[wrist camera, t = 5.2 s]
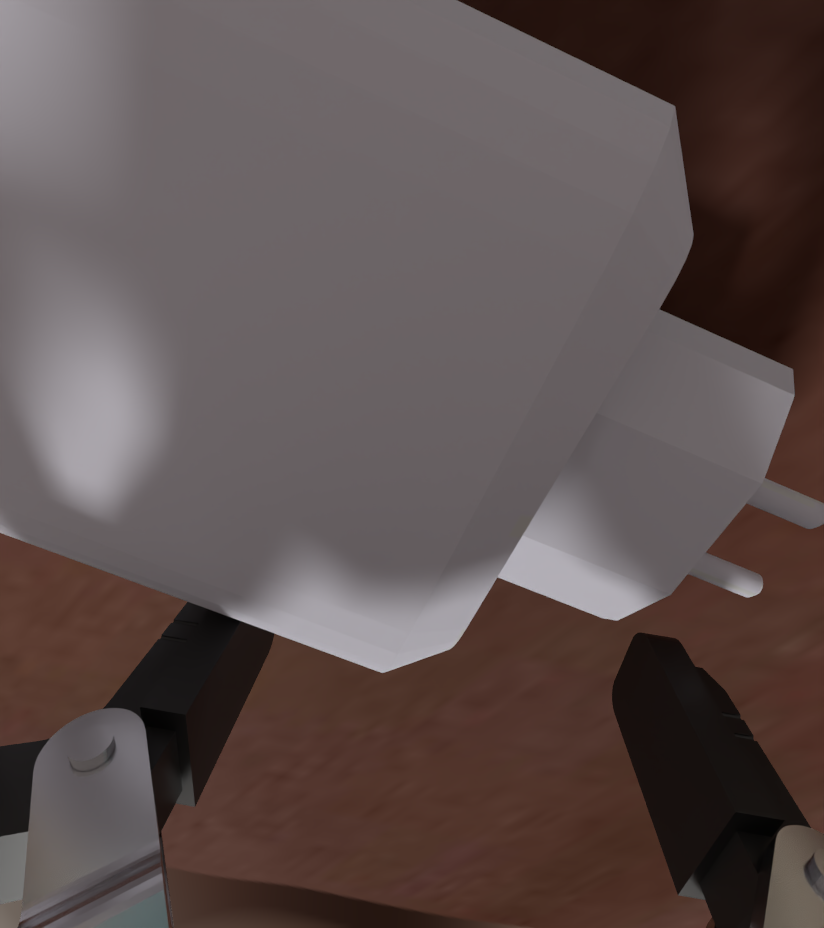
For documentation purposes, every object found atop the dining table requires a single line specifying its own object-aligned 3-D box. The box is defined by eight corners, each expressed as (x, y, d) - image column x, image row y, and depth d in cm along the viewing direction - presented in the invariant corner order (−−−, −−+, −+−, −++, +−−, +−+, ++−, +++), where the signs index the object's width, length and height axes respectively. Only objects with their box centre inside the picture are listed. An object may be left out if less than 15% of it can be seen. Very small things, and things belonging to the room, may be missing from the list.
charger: (613, 628, 13) (81, 421, 12) (871, 301, 9) (124, -48, 8) (690, 817, 8) (-138, 517, 7) (1246, 342, 5) (-271, -407, 4)
